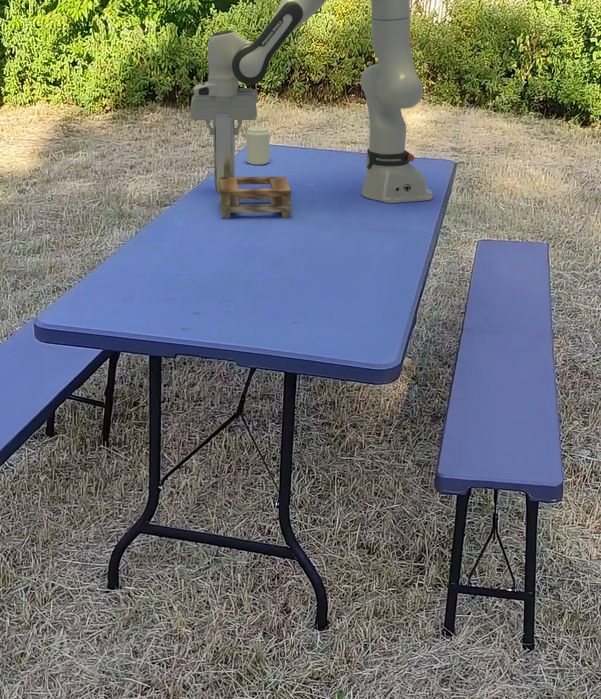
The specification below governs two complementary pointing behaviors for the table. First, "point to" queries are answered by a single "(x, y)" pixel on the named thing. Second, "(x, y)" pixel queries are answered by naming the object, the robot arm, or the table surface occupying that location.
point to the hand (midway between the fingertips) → (224, 134)
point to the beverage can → (257, 145)
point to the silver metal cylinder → (223, 147)
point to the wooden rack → (255, 195)
